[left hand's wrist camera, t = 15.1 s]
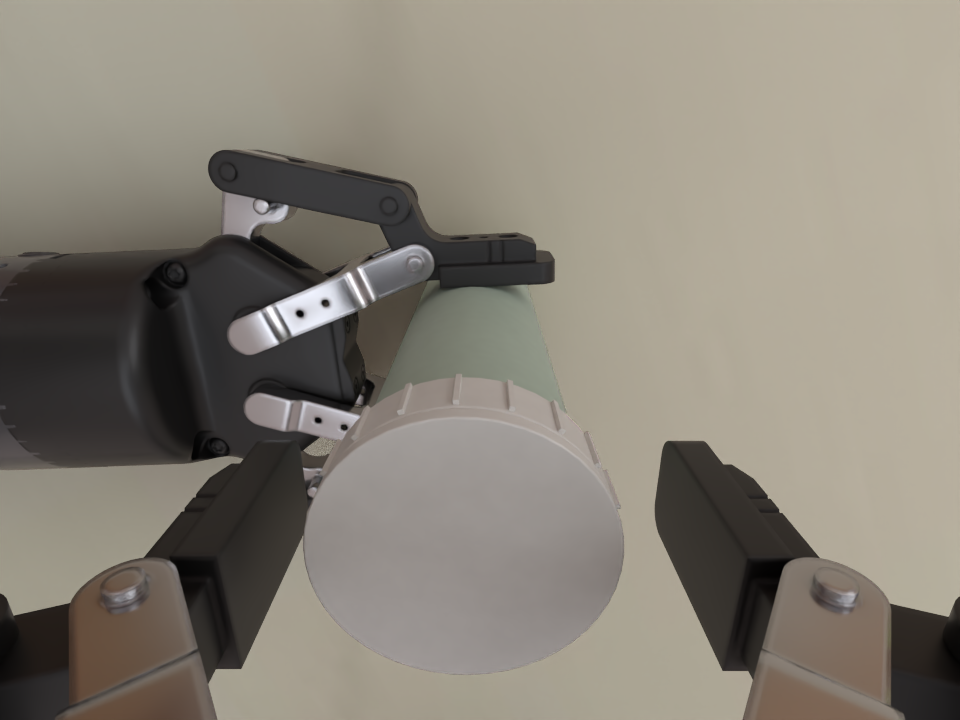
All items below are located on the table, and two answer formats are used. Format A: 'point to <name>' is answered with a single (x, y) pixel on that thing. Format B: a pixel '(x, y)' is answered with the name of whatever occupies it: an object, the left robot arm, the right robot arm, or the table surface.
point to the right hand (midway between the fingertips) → (549, 341)
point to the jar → (474, 340)
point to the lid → (464, 528)
